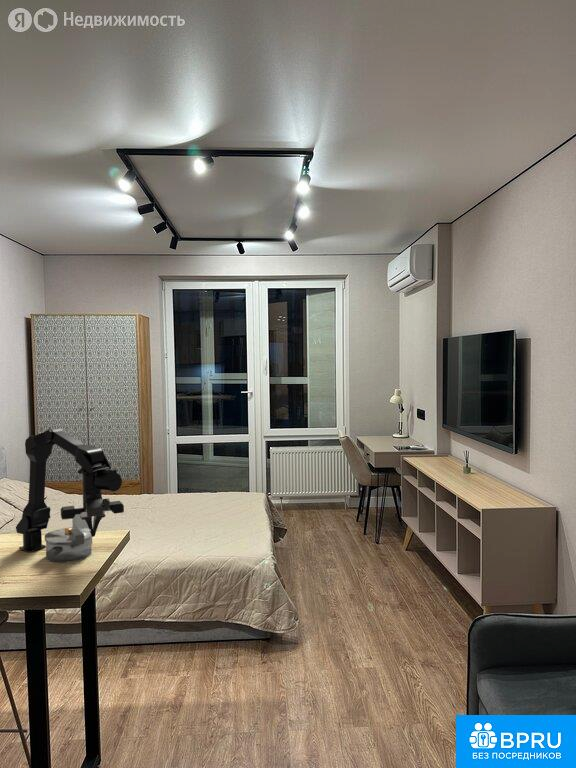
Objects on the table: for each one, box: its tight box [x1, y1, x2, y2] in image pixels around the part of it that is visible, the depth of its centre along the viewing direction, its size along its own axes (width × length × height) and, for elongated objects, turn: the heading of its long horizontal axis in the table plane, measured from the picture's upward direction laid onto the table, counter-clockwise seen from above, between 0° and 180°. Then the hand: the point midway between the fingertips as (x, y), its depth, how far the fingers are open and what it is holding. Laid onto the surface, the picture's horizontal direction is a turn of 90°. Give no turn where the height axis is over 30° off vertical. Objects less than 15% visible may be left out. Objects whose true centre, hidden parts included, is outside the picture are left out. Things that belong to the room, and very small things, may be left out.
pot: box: [45, 537, 92, 564], centre depth 187 cm, size 20×14×6 cm
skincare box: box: [72, 514, 93, 545], centre depth 202 cm, size 6×4×12 cm
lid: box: [44, 526, 91, 545], centre depth 187 cm, size 21×15×4 cm
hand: (93, 536), depth 183 cm, fingers closed
